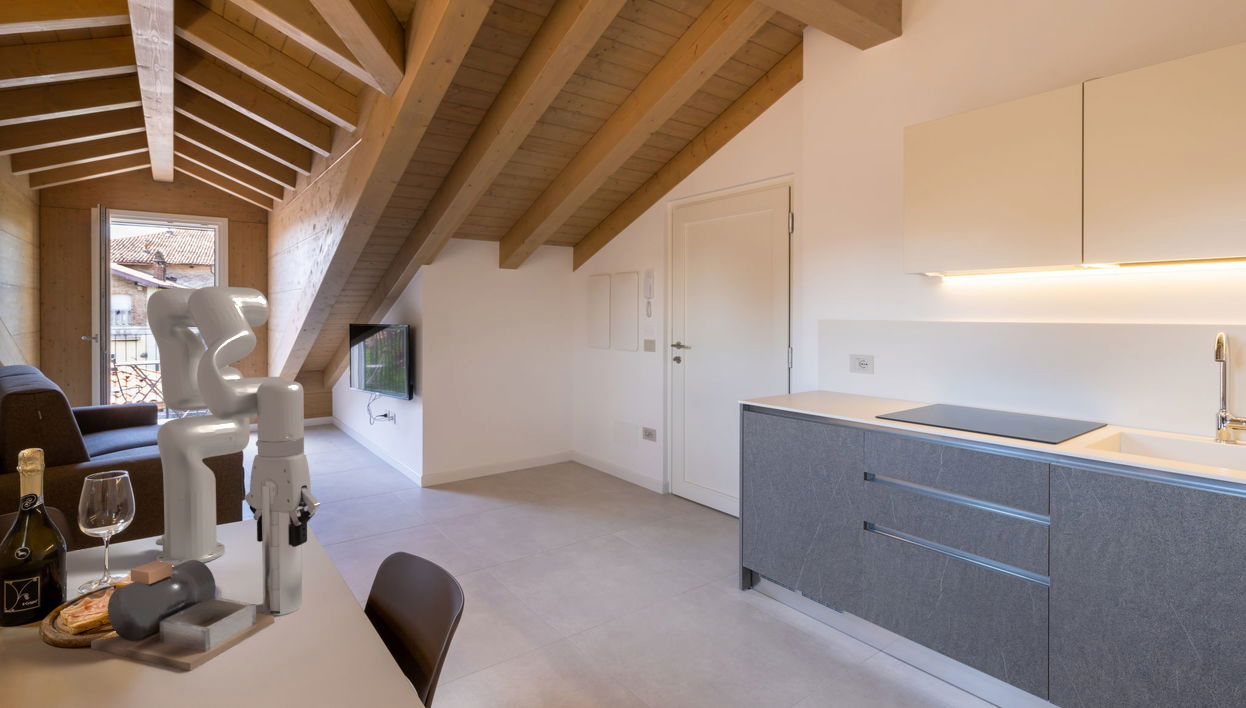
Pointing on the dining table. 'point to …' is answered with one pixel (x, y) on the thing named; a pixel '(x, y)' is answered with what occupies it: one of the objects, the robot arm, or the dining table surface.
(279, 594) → the silver tall cylinder
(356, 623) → the dining table surface
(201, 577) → the motor mount
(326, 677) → the dining table surface
